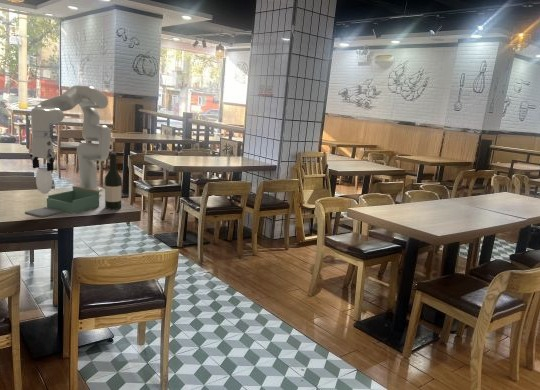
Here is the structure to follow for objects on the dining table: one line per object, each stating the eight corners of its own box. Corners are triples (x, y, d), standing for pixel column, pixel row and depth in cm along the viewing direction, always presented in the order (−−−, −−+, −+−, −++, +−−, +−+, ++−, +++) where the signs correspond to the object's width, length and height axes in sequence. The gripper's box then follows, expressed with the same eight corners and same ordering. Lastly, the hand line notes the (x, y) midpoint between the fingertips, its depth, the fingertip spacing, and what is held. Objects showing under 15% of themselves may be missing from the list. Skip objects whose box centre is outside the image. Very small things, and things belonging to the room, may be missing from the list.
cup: (38, 213, 214) (36, 172, 209) (36, 210, 219) (34, 169, 215) (54, 212, 218) (53, 171, 213) (52, 209, 224) (50, 169, 219)
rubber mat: (45, 208, 226) (45, 207, 226) (62, 212, 222) (62, 210, 222) (24, 213, 216) (24, 211, 215) (42, 217, 211) (42, 215, 211)
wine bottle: (119, 209, 234) (119, 154, 228) (103, 209, 233) (103, 153, 227) (122, 206, 242) (122, 152, 236) (106, 205, 241) (106, 151, 235)
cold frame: (74, 201, 245) (74, 186, 243) (99, 206, 238) (99, 190, 236) (46, 207, 228) (46, 191, 226) (72, 213, 221) (72, 196, 219)
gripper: (60, 135, 211) (62, 170, 215) (35, 132, 217) (37, 166, 221) (47, 136, 204) (49, 172, 208) (21, 133, 210) (23, 168, 214)
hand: (43, 169), depth 215 cm, fingers open, 9 cm apart
